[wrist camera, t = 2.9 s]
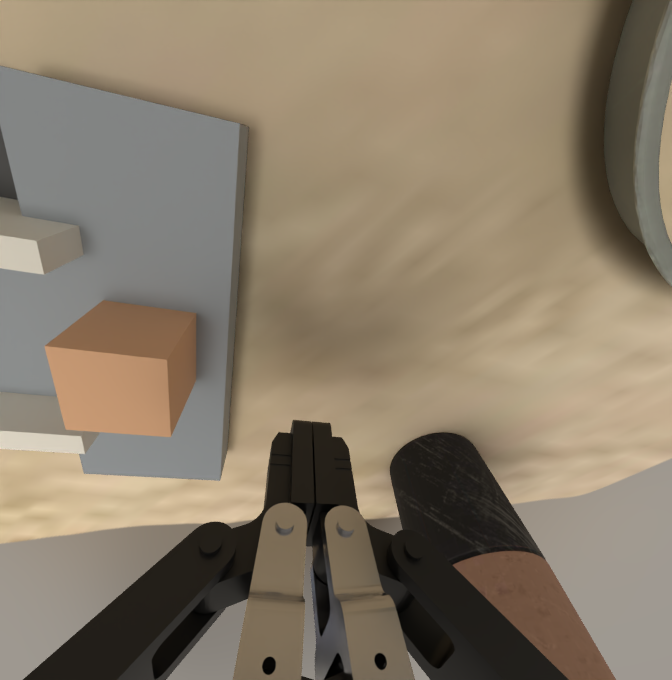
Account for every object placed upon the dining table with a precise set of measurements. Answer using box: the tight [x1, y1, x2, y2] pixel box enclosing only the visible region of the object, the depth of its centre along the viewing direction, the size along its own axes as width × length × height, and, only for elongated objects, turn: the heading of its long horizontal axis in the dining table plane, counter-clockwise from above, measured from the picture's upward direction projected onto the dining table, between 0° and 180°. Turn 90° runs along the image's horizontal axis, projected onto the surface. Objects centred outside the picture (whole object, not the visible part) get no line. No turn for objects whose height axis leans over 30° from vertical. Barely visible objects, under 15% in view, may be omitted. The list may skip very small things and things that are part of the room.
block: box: [44, 300, 196, 437], centre depth 15 cm, size 4×4×4 cm
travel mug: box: [390, 433, 616, 680], centre depth 18 cm, size 8×8×20 cm
